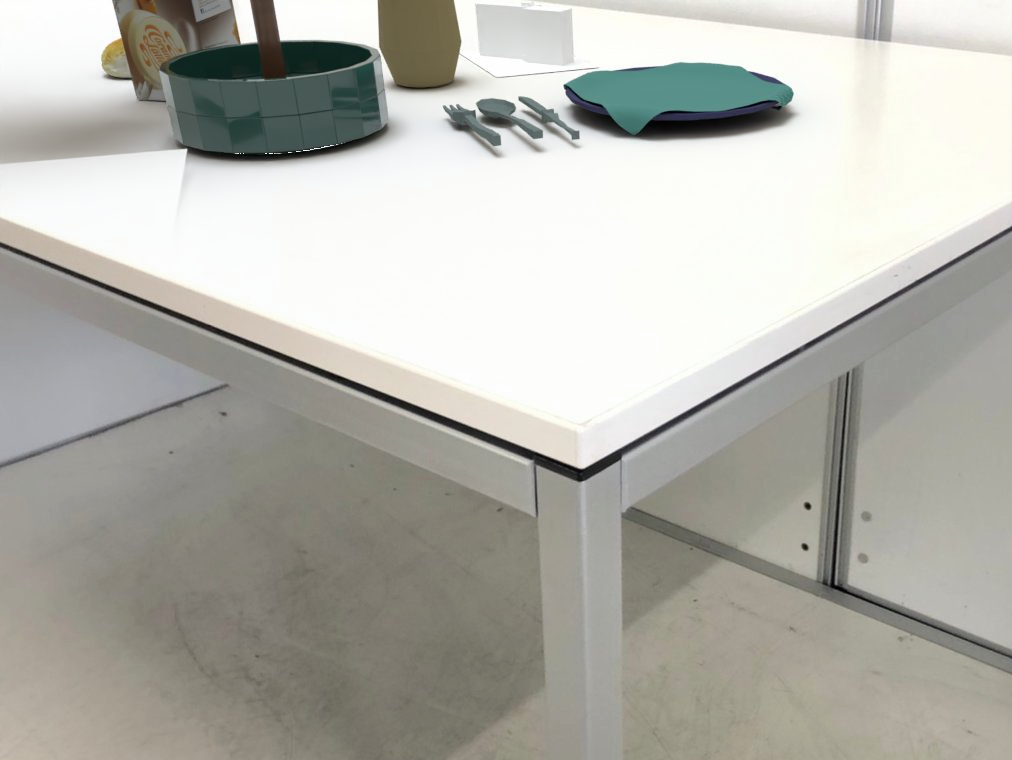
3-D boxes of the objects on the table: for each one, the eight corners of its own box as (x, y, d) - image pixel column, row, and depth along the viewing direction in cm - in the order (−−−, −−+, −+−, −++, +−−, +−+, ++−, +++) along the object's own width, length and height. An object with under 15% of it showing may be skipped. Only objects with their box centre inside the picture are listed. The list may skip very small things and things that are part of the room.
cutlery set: (829, 122, 95) (832, 94, 94) (493, 163, 86) (490, 133, 84) (725, 78, 111) (726, 54, 110) (431, 109, 101) (428, 82, 100)
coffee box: (254, 91, 109) (219, -93, 101) (214, 105, 104) (174, -87, 95) (174, 86, 111) (134, -94, 103) (132, 100, 106) (86, -89, 98)
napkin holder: (456, 52, 125) (451, -3, 122) (551, 44, 128) (549, -10, 126) (497, 77, 113) (492, 17, 110) (600, 67, 117) (598, 8, 114)
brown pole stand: (251, 135, 92) (210, -82, 83) (251, 120, 96) (212, -87, 88) (316, 130, 93) (282, -84, 85) (313, 116, 97) (280, -89, 89)
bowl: (171, 169, 85) (152, 88, 82) (181, 118, 100) (166, 47, 97) (399, 149, 90) (389, 71, 87) (378, 102, 104) (369, 34, 101)
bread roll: (199, 61, 122) (191, 23, 120) (174, 79, 114) (165, 37, 112) (123, 63, 122) (114, 24, 120) (92, 80, 114) (82, 39, 112)
